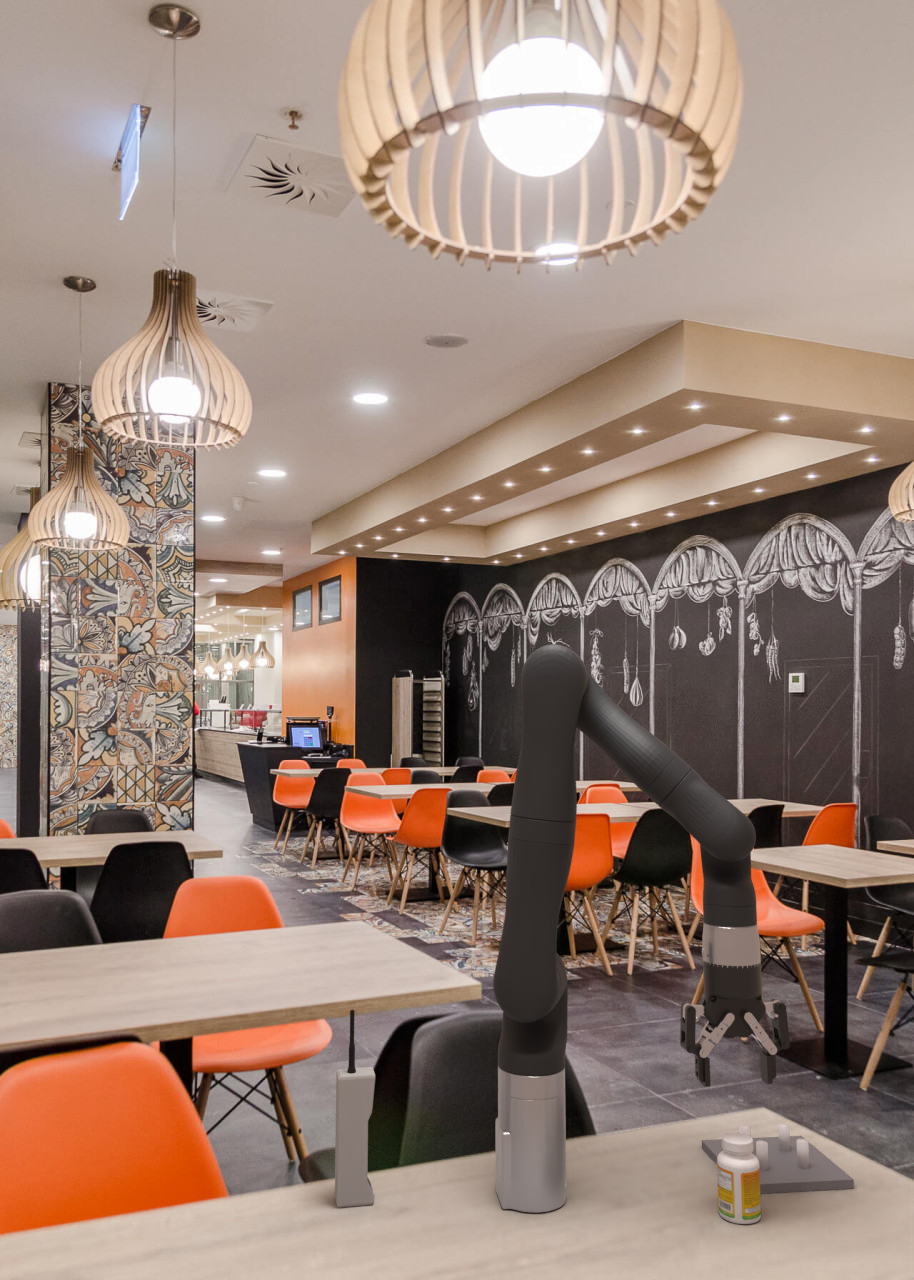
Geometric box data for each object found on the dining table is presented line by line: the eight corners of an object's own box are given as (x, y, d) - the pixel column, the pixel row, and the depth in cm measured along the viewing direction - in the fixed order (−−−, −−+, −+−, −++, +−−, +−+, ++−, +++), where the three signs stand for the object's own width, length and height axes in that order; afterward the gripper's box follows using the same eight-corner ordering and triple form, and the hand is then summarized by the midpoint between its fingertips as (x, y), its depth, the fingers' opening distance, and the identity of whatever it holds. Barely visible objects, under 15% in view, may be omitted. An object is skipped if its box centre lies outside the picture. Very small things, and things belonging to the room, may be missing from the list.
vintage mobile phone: (374, 1205, 133) (376, 1011, 136) (336, 1208, 132) (339, 1013, 135) (371, 1193, 137) (372, 1004, 140) (334, 1196, 136) (337, 1006, 139)
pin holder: (743, 1194, 137) (742, 1158, 137) (701, 1148, 152) (700, 1116, 153) (854, 1188, 138) (852, 1153, 139) (801, 1143, 154) (800, 1111, 155)
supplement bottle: (762, 1210, 132) (759, 1133, 133) (760, 1228, 127) (757, 1148, 128) (720, 1204, 134) (718, 1128, 135) (716, 1221, 129) (714, 1142, 130)
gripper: (689, 965, 129) (694, 1095, 128) (794, 961, 131) (800, 1090, 129) (671, 954, 137) (674, 1077, 135) (770, 950, 139) (775, 1072, 137)
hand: (736, 1083), depth 132 cm, fingers open, 8 cm apart
